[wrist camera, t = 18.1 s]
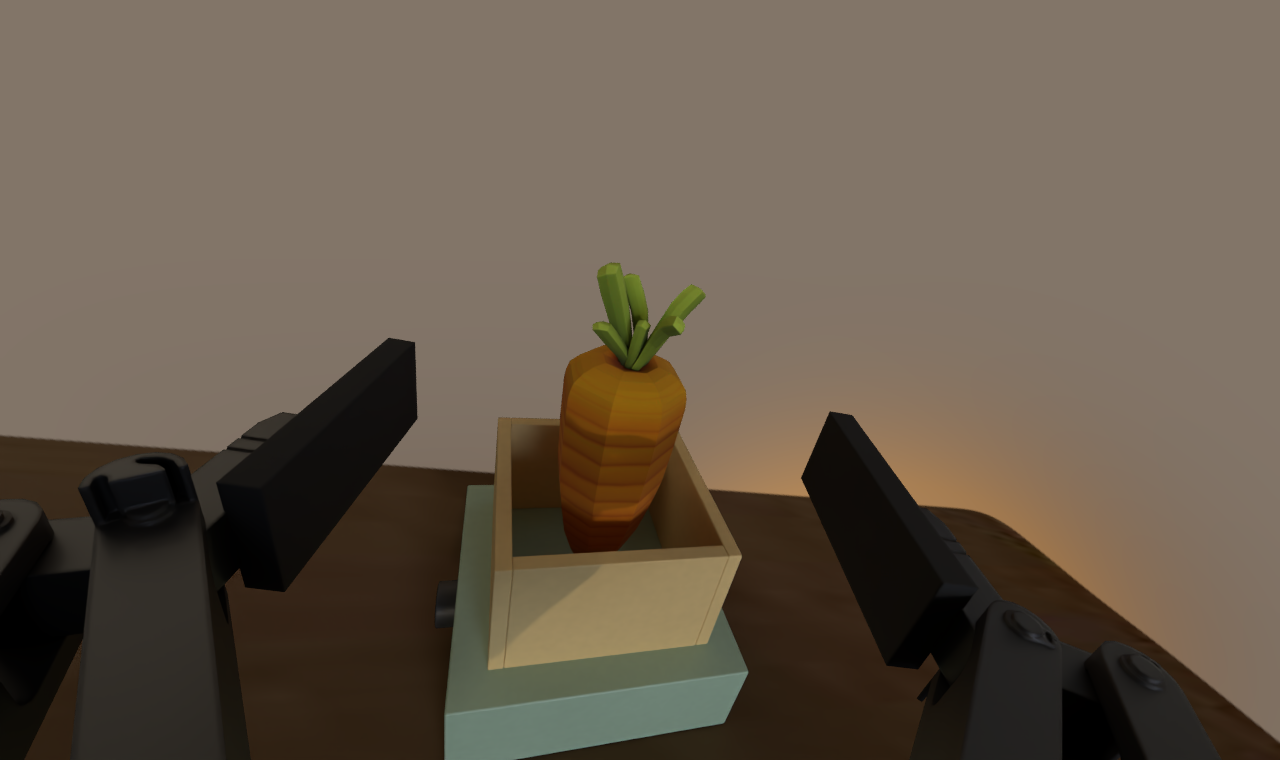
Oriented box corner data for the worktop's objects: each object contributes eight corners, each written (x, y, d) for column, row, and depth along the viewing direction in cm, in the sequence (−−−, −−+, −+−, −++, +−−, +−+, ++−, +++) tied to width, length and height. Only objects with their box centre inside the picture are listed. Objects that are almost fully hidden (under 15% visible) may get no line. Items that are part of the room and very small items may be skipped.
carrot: (647, 543, 26) (722, 267, 19) (627, 625, 21) (715, 304, 14) (558, 517, 26) (599, 238, 19) (520, 593, 22) (556, 265, 15)
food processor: (418, 777, 18) (410, 616, 14) (449, 537, 29) (450, 400, 24) (724, 724, 22) (792, 584, 18) (656, 528, 32) (689, 408, 28)
